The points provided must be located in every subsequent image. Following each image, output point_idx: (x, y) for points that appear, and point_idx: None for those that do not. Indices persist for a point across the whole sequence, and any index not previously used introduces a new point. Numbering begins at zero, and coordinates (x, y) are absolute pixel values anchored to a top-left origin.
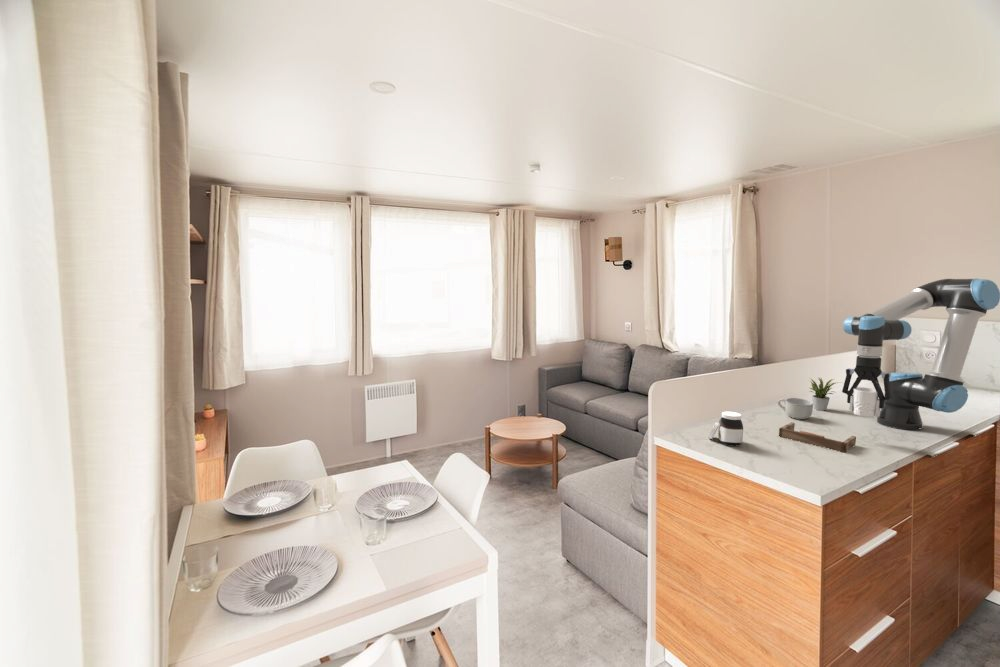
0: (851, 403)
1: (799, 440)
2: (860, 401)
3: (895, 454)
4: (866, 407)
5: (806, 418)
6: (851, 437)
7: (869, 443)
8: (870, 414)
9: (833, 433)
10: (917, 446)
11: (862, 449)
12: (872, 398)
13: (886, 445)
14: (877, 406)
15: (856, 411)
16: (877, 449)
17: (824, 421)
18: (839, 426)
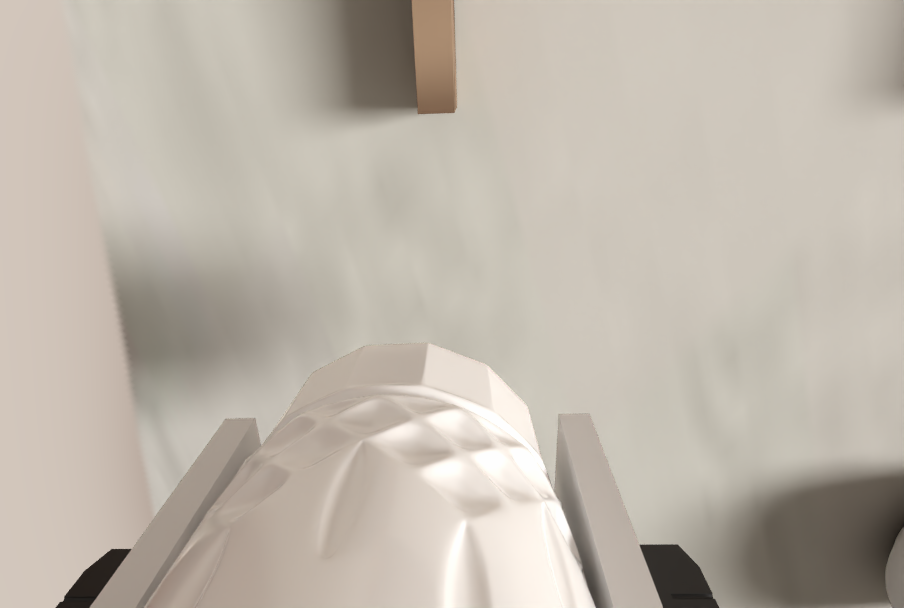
0: (606, 528)
1: None
2: (399, 512)
3: (132, 131)
4: (301, 436)
5: (898, 537)
6: (438, 23)
7: (374, 277)
8: (292, 401)
9: (655, 326)
10: (165, 463)
11: (342, 28)
12: None
13: (280, 328)
14: (146, 553)
15: (481, 386)
16: (270, 153)
17: (764, 571)
18: (655, 531)
